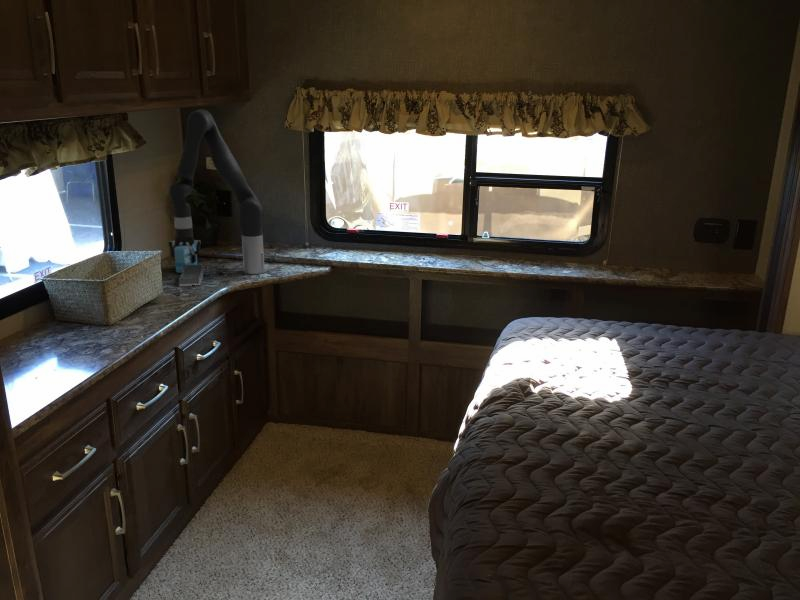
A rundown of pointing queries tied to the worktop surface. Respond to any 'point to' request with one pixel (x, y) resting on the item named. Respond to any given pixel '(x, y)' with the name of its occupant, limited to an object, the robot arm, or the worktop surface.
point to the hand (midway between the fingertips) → (186, 262)
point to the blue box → (183, 257)
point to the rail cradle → (191, 275)
